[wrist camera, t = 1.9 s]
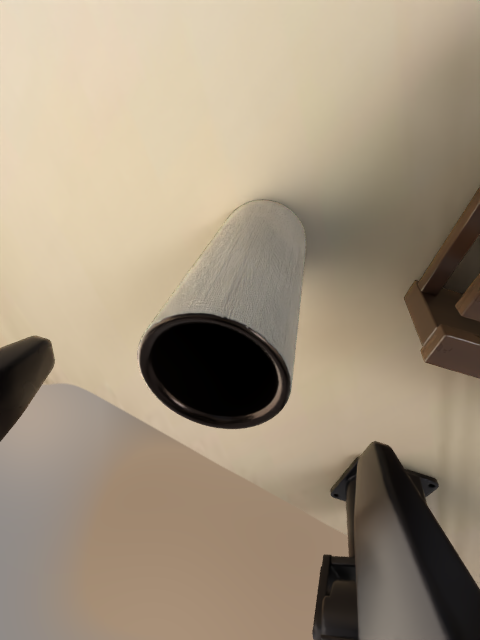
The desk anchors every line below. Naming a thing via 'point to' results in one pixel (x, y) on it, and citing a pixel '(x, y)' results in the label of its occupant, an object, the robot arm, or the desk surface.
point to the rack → (450, 302)
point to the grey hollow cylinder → (232, 323)
